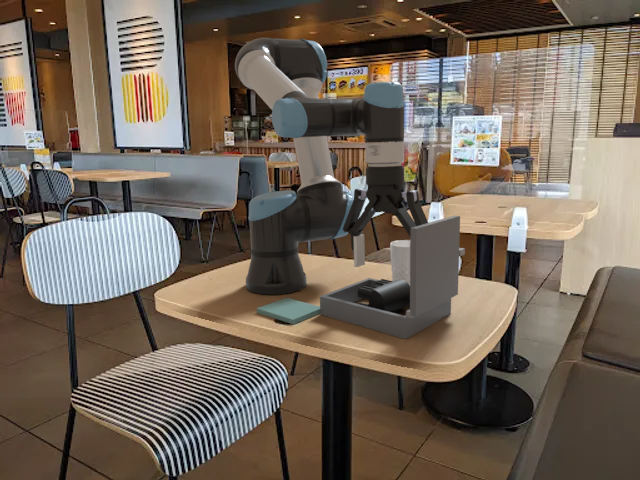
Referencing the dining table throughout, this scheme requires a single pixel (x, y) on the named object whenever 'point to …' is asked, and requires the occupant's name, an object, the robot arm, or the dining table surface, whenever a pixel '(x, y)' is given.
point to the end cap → (386, 295)
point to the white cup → (400, 260)
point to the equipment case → (425, 284)
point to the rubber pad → (289, 310)
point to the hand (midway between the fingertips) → (386, 270)
